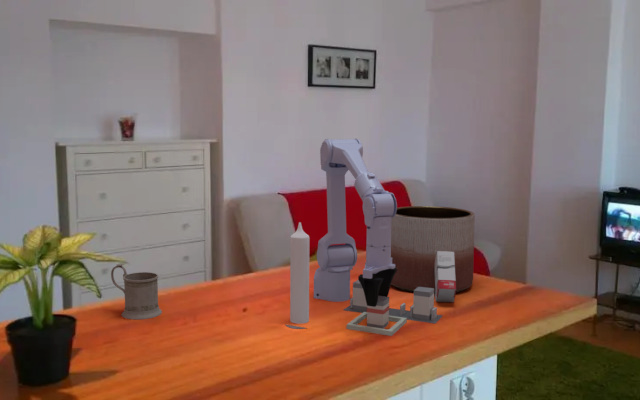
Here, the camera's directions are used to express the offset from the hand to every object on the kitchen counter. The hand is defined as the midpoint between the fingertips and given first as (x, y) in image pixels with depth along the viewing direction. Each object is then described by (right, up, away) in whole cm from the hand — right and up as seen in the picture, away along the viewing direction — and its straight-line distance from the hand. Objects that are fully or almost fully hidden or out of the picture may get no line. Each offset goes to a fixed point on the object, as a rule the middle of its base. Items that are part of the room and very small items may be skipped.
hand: (377, 301), depth 155 cm
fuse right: (+12, -5, +7) cm, 15 cm away
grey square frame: (0, -7, +1) cm, 7 cm away
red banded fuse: (0, -6, +1) cm, 6 cm away
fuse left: (-3, -4, +14) cm, 15 cm away
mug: (-61, -5, +13) cm, 62 cm away
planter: (+19, -2, +42) cm, 46 cm away
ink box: (+20, -2, +18) cm, 27 cm away
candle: (-18, -6, +4) cm, 20 cm away
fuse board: (+5, -5, +11) cm, 13 cm away
